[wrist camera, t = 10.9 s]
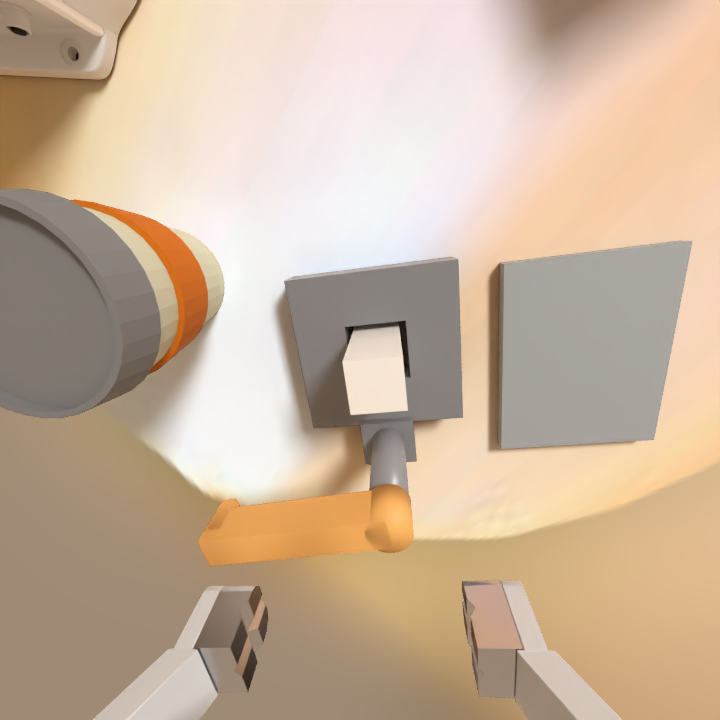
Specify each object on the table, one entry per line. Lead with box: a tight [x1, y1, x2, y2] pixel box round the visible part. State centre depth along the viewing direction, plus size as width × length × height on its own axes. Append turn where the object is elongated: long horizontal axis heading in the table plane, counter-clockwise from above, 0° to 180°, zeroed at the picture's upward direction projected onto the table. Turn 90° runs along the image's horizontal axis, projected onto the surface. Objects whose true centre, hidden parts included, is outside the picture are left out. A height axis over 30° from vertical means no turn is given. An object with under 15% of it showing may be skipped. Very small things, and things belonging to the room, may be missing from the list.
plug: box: [342, 321, 408, 415], centre depth 28 cm, size 4×4×10 cm
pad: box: [498, 241, 692, 449], centre depth 31 cm, size 14×18×1 cm
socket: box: [284, 257, 463, 494], centre depth 28 cm, size 14×18×10 cm
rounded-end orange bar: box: [198, 484, 414, 566], centre depth 25 cm, size 3×15×4 cm, turn 102°
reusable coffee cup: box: [0, 189, 224, 418], centre depth 25 cm, size 13×12×15 cm
